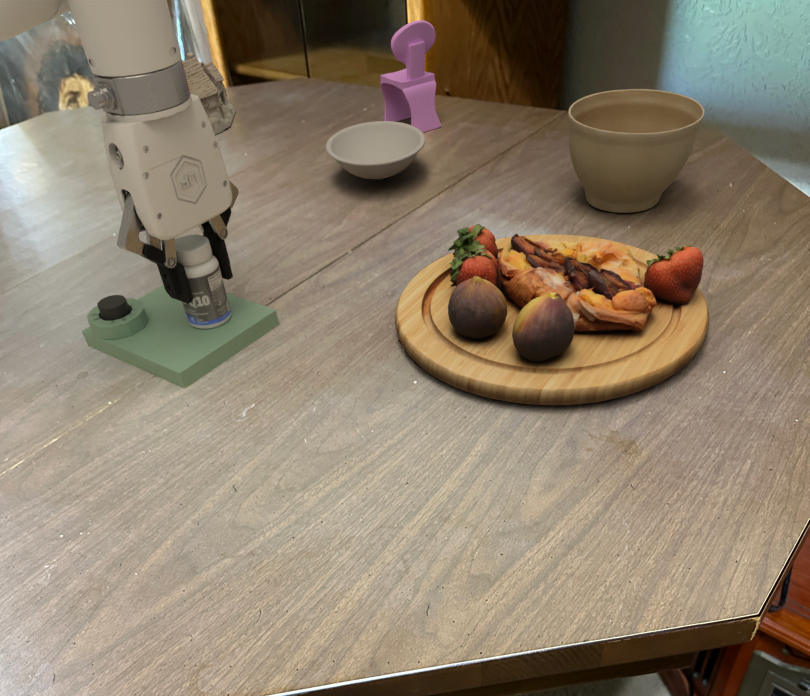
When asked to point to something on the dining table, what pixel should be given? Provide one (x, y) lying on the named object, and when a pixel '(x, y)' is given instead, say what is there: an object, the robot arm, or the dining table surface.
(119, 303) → the button
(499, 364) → the wooden plate
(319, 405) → the dining table surface
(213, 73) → the ceramic cottage
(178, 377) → the scale
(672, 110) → the planter bowl
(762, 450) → the dining table surface
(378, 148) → the dish
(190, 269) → the pill bottle
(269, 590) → the dining table surface
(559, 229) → the dining table surface
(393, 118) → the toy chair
